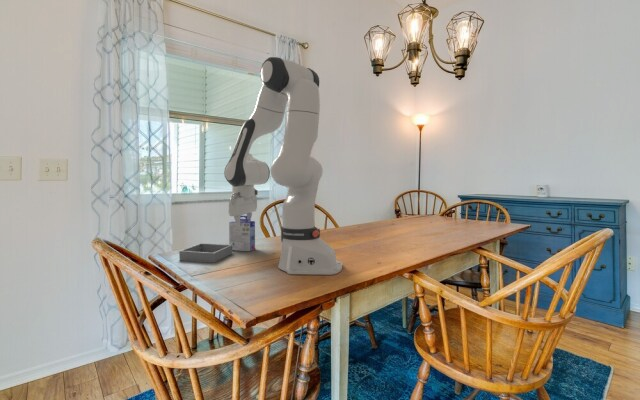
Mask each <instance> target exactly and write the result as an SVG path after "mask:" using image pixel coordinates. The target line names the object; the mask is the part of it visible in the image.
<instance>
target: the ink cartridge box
mask: <svg viewBox="0 0 640 400" xmlns="http://www.w3.org/2000/svg"><path fill="white" fill-rule="evenodd" d="M240 221H241V226H236V221H235V220H232V221H229V223H228V226H229V227H228V228H229V229H228V234H229V235H228V236H229V237H228V239H229V240H228V245H232V251H238V252H239V251H241V252H251V251H254V250H255V249H256V221H255V220H251V221H247V215H240Z"/></svg>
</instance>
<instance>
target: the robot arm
mask: <svg viewBox="0 0 640 400" xmlns="http://www.w3.org/2000/svg"><path fill="white" fill-rule="evenodd" d="M259 72H260V80H261V83H262V86H261V87H260V91H259V92H258V93H259V94H258V95H257V96H258V97H257V100H256V102H255V104H256V105H255V108H254V111H253V113H252V114H251V115H250V117H249V118H248V119H247V120H245V121H244V122H243V124H242V127H241V128H240V132H239V134H238V137H237V140H236V143H235V144H234V148H233V150H232V153H231V157H230V158H229V160H228V162H227V164H226V165H225V168H224V173H223V174H224V178H225V179H226V181H227V183H228V184H229V185H231V186H232V187H231V188H232V191H231V192H232V194H231V197H230V198H229V202H228V215H229V216H230V217H234V221H236V226H241V221H240V219H241V218H240V215H241V216H245V215H246V216H247V221H252V216H253V213H254V212H256V211H257V209H258V195H259V192H258V190H257V189H256V188H255V186H256V185H264V184H266V183H268V181H269V180H270V179H269V178H270V177H272V179H273V181H274V182H275V183H276V184H278V185H280V186H282V187H285V188H288V189H287V194H286V197H285V199H284V201H283V203H282V226H281V229H280V240H281V251H280V257H279V262H278V266H277V268H278V269H279V270H281V271H284V272H286V274H288V275H315V276H316V275H317V276H318V275H323V276H324V275H327V276H328V275H330V276H331V275H332V276H333V275H336V274H338V273H340V272H341V271H342V269H343V263H342V262H341V261H339V260H337V256H336V251H335V249H334V248H333V247H332V246H331V245H330V244H328V243H327V242H326V241H325V240H323V238H321V228H318V227H316V226H315V209H316V207H315V205H316V198H317V194H318V188H319V183H320V180H321V178H322V176H323V173H324V171H323V167H322V164H321V163H320V161H319V160H317V159H316V158H314V157H312V156H311V153H312V150H313V148H314V145H315V143H316V142H317V139H318V134H319V123H320V122H319V120H320V109H321V108H320V106H321V104H320V103H321V101H320V99H321V98H320V91H319V88H320V77H319V75H318V73H317V72H316V71H315V70H313V69H311V68H309V67H305V66H304V65H301V64H299V63H297V62H296V61H292V60H288V59H283V58H282V57H281V58H280V57H278V56H275V57H274V56H272V57H271V56H270V57H267V58H266V59H265V60H264V61H263V63H262V64H261V68H260V71H259ZM285 113H286V116H285ZM284 117H285V127H284V136H283V140H282V144H281V146H280V150H279V153H278V155H277V156H276V158H274V160H273V161H272V164H271V166H270V167H269V165H268V164H267V163H266V162H265V161H261V160H259V159H257V158H256V157H254V156H253V155H252V154H251V153H250V150H251V147H252V145H253V144H254V142H255V141H256V140H257V139H258V138H260V137H262V136H264V135H268V134H272V133H274V132H275V131H277V130H278V129H279V128H280V127H281V126H282V124H283V121H284ZM270 175H271V176H270Z"/></svg>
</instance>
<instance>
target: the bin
mask: <svg viewBox="0 0 640 400" xmlns="http://www.w3.org/2000/svg"><path fill="white" fill-rule="evenodd" d="M178 252H179V253H178V254H179V261H185V262H186V261H187V262H198V263H200V262H201V263H210V264H211V263H212V264H214V263H216V262H219V261H220V260H222V259H224V258H226V257H228V256H230V255H232V254H233V250H232V245H229V244H221V243H219V244H218V243H203V242H200V243H197V244H195V245H192V246H189V247H187V248H184V249H181V250H179V251H178Z"/></svg>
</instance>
